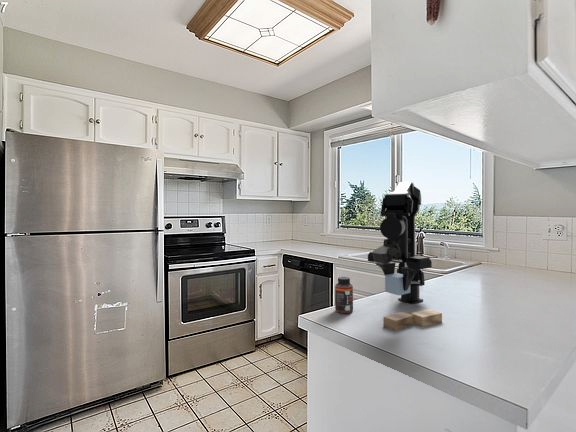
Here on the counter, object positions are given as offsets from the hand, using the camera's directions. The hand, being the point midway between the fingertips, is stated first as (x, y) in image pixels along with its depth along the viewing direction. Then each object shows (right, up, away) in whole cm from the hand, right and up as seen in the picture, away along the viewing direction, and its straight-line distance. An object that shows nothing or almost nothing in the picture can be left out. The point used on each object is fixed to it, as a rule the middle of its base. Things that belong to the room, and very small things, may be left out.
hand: (397, 288), depth 97 cm
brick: (+9, -11, +3) cm, 15 cm away
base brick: (0, -11, 0) cm, 11 cm away
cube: (0, -1, 0) cm, 1 cm away
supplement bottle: (-13, -11, +14) cm, 22 cm away
